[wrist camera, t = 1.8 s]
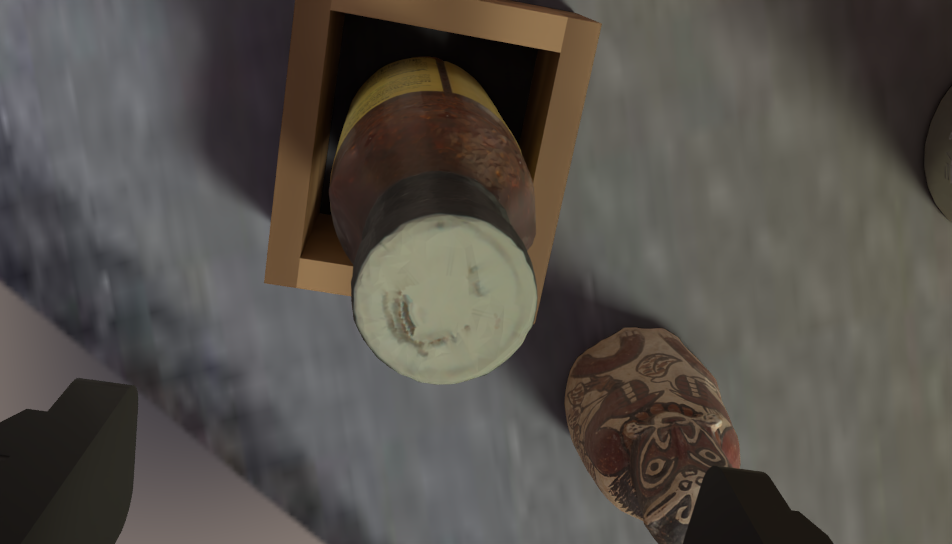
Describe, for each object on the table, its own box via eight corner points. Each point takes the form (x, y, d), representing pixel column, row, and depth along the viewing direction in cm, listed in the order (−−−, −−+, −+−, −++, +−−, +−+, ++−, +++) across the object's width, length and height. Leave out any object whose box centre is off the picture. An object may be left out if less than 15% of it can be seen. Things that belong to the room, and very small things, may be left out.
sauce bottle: (335, 178, 38) (240, 398, 19) (367, 33, 36) (296, 120, 17) (482, 214, 39) (528, 459, 20) (521, 75, 37) (613, 201, 18)
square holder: (575, 12, 36) (601, 23, 30) (520, 271, 39) (534, 324, 34) (320, -36, 35) (298, -34, 29) (288, 234, 38) (264, 283, 33)
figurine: (718, 327, 41) (826, 469, 30) (701, 458, 43) (796, 635, 32) (567, 327, 41) (618, 470, 29) (558, 459, 43) (603, 639, 32)
